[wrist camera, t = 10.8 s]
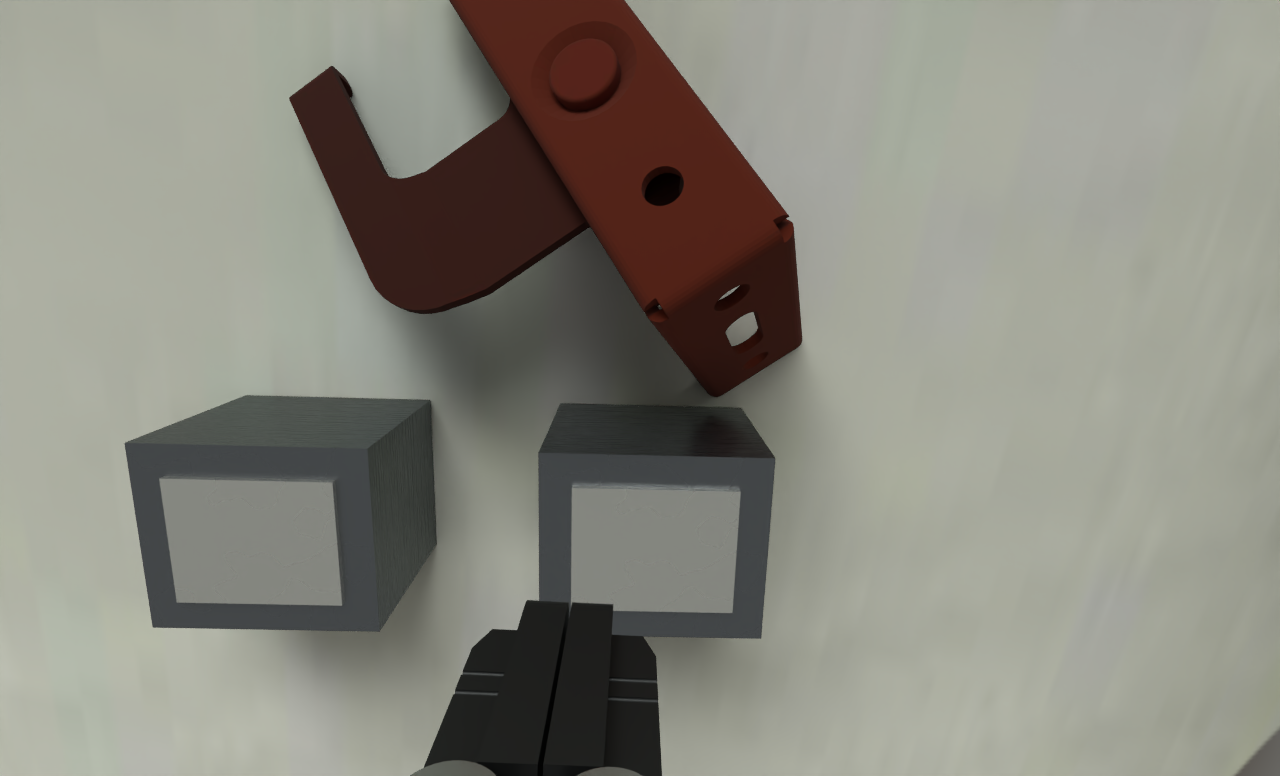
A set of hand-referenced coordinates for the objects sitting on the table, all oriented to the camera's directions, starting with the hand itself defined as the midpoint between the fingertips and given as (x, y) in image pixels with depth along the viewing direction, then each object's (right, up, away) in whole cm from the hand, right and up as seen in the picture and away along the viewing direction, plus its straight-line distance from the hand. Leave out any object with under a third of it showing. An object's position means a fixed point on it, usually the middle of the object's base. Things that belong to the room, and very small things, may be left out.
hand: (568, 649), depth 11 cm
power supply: (-10, +1, +14) cm, 18 cm away
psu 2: (+2, +1, +14) cm, 14 cm away
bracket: (-2, +11, +13) cm, 17 cm away
